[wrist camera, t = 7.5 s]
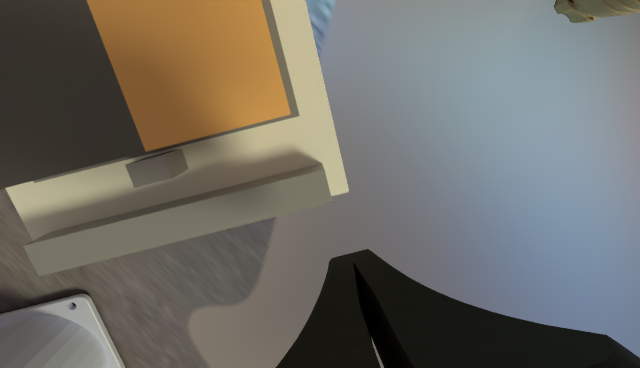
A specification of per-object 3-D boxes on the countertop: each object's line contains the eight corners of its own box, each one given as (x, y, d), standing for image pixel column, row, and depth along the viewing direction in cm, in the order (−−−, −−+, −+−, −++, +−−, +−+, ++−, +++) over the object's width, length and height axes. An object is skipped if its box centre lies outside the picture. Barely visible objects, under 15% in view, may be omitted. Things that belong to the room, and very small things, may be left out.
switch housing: (85, 243, 19) (2, 297, 14) (-57, -55, 15) (-252, -143, 10) (341, 178, 19) (357, 206, 14) (268, -137, 15) (251, -270, 10)
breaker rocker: (-16, 192, 12) (-40, 199, 11) (-126, -10, 10) (-169, -27, 9) (285, 115, 15) (290, 114, 14) (240, -52, 13) (243, -69, 12)
